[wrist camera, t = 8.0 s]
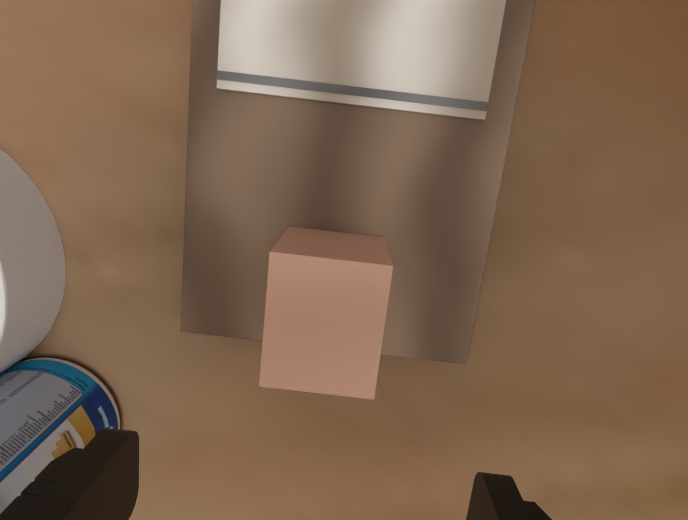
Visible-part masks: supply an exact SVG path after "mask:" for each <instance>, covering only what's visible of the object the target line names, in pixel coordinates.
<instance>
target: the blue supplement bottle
mask: <svg viewBox="0 0 688 520" xmlns="http://www.w3.org/2000/svg"><path fill="white" fill-rule="evenodd" d="M103 428H111V429H120V417H119V412H118V408H117V405H116V403H115V401H114V399H113V397H112V395H111V393H110V392H109V390H108V389H107V388H106V386H105V385H104V384H103V383H102V382H101V381H100V380H99V379H98V378H97V377H96V376H95V375H93V374H92V373H91V372H89V371H88V370H86V369H84V368H83V367H81V366H79V365H76V364H74V363H71V362H69V361H65V360H61V359H55V358H35V359H29V360H25V361H22V362H19V363H17V364H14V365H13V366H11V367H10V368H8V369H7V370H5V371H4V372H2V373H1V374H0V514H1V513H2V512H3V510H4V509H5V508H6V507H7V506H8V505H9V504H10V503H11V502H12V501H13V500H14V499H15V498H16V497H17V496H20V495H21V492H22V491H23V490H24V489H25V488H26V487H27V486H28V485H29V484H30V482H31V481H32V482H34V480H35V477H36V476H37V475H38V474H39V473H40V472H41V471H42V470H43V469H44V468H45V467H46V466H47V465H48V464H49V463H50V462H51V461H52V460H54V459H55V458H57V457H59V456H61V455H62V454H64V453H66V452H67V451H69V450H71V449H73V448H82V449H84V447H85V446H86V445H87V444H88V443H89V442H90V441H91V440H92V439H93V437H94V436H95V435H96V434H97V433H98V432H99V431H100V430H101V429H103Z"/></svg>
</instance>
